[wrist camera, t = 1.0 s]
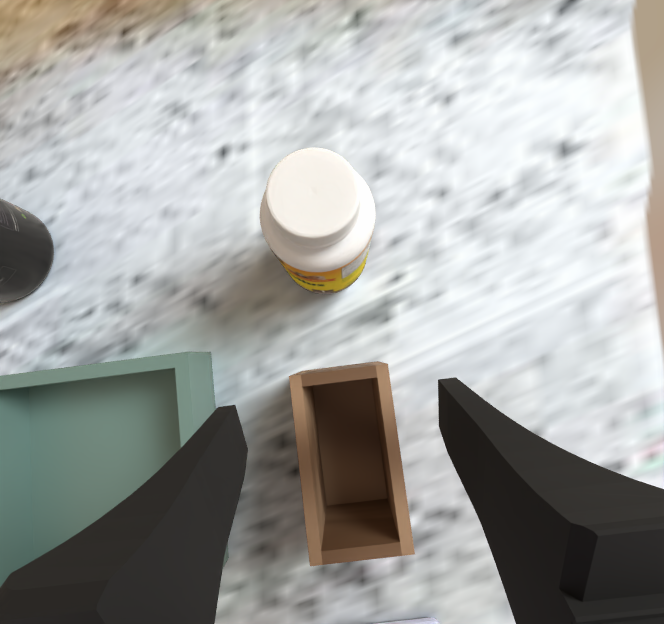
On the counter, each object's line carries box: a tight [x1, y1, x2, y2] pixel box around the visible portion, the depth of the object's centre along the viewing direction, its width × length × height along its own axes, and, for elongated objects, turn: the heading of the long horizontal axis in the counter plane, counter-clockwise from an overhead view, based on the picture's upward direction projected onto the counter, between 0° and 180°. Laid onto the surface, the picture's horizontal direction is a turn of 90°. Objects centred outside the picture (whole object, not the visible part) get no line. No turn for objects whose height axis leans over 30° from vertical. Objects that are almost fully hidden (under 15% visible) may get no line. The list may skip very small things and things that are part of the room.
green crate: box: [0, 352, 229, 587], centre depth 23 cm, size 13×13×4 cm
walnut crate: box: [289, 361, 415, 566], centre depth 21 cm, size 9×5×6 cm, turn 7°
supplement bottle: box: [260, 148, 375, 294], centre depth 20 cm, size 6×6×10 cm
